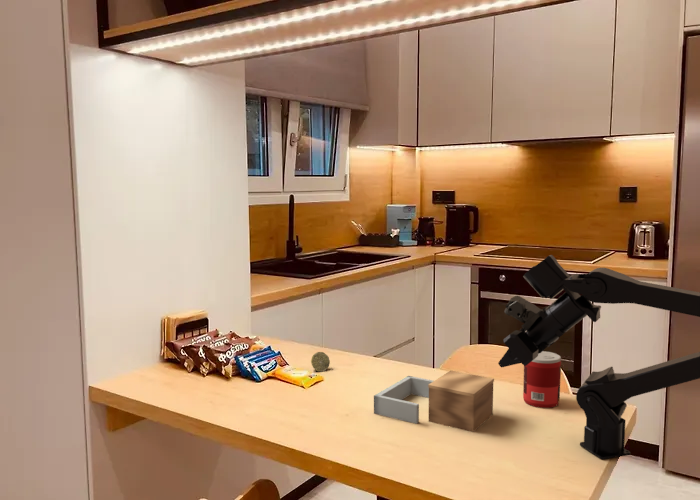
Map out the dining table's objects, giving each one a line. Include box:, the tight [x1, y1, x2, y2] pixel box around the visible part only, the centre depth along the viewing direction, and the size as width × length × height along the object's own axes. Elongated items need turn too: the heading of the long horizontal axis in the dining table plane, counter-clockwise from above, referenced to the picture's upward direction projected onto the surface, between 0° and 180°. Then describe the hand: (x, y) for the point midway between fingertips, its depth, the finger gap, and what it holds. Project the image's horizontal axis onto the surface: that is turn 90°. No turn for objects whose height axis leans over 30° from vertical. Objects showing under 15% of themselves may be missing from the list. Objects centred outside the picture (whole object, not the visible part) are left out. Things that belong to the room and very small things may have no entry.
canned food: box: [522, 351, 562, 409], centre depth 138 cm, size 8×8×11 cm
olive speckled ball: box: [310, 351, 331, 372], centre depth 163 cm, size 4×5×5 cm
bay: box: [373, 375, 434, 424], centre depth 136 cm, size 10×16×4 cm, turn 146°
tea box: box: [428, 370, 495, 433], centre depth 129 cm, size 10×11×8 cm
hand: (502, 363), depth 123 cm, fingers open, 3 cm apart
